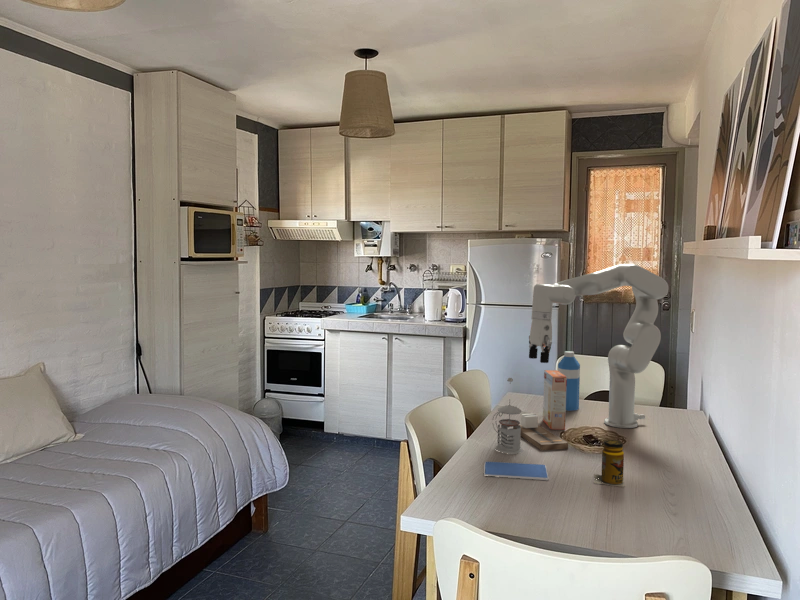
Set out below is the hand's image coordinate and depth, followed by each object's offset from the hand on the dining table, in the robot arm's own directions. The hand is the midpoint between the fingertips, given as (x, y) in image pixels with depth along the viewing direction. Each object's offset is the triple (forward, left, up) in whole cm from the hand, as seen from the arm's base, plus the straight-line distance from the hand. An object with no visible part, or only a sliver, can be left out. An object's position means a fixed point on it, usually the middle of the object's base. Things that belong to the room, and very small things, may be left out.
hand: (538, 360), depth 229 cm
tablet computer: (+28, +43, -27) cm, 58 cm away
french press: (+22, +22, -27) cm, 41 cm away
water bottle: (-27, -26, -27) cm, 46 cm away
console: (+6, +14, -26) cm, 30 cm away
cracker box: (-8, -2, -27) cm, 28 cm away
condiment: (+4, +56, -27) cm, 62 cm away
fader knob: (+6, +5, -24) cm, 25 cm away
